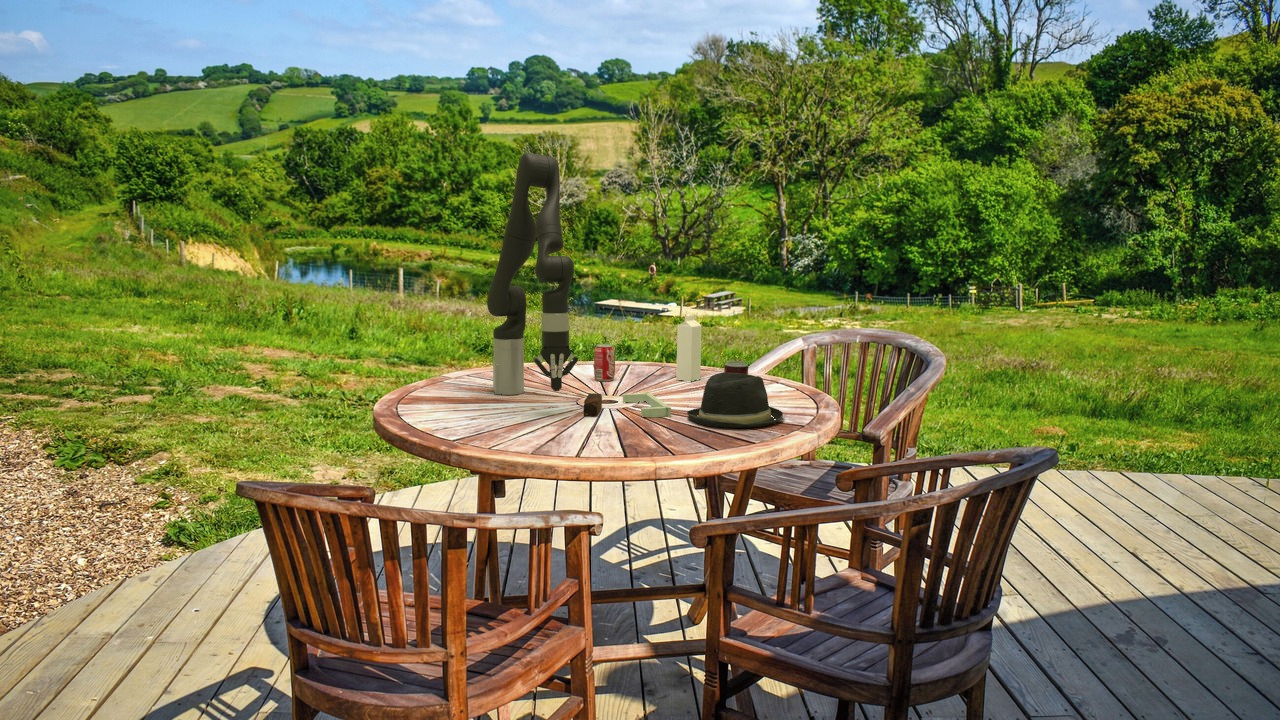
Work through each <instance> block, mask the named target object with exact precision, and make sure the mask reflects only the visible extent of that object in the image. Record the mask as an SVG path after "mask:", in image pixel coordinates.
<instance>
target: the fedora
mask: <svg viewBox="0 0 1280 720" xmlns="http://www.w3.org/2000/svg"><path fill="white" fill-rule="evenodd" d="M767 393H768V392H767V389H766V386H765V382H764V379H763V378H762V377H761V376H759V375H752V374H749V373H748V374H743V373H742V374H741V373H730V372H728V373H726V372H725V373H724V372H719V373H715V374H713V375H711V376H710V377H709V378H708V380H707V381H706V382H705V386H704V390H703V394H702V399H701V405H700V407H698V408H693V409H690V410H687V412H686V414H687V416H688V417H689V418H690V419H691V420H692V421H694V422H695V423H697V424H699V425H702V426H706V427H711V426H713V428H714V427H715V428H722V427H724V428H723V429H725V428H729V429H747V428H748V429H751V428H759V427H766V425H767V426H771V425H772V424H776V423H777V422H779V421H780V420H781V419H782V418H783V416H784V413H783V411H781V410H780V409H779V408H778V409H777V408H775V407H773V406H770V405H769V400H768V399H769V398H768V394H767ZM697 415H698V416H697ZM771 415H772V416H773V417H774V418H773V417H771ZM774 419H776V420H774ZM770 424H771V425H770Z"/></svg>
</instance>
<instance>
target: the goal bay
mask: <svg viewBox="0 0 1280 720" xmlns="http://www.w3.org/2000/svg"><path fill="white" fill-rule="evenodd" d="M639 401H641V402H640V403H643V402H642V401H646V402H647V403H646V402H645V403H646V404H648V403H649V404H650V405H651V406H650V405H649V404H648V405H649V406H650V407H641V408H640V417H641V416H642V417H651V418H666V417H667V418H668V417H671V416H672V407H671V406H669V405H668V404H666V403H665V402H663V401H662V400H661V399H659V398H658V397H656V396H654V395H653V394H652V393H650V392H642V393H641V392H640V393H638V392H636V393H623V394H622V403H623V402H639ZM642 417H641V418H642Z"/></svg>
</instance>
